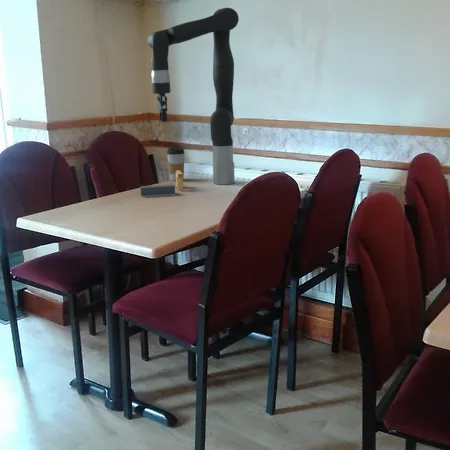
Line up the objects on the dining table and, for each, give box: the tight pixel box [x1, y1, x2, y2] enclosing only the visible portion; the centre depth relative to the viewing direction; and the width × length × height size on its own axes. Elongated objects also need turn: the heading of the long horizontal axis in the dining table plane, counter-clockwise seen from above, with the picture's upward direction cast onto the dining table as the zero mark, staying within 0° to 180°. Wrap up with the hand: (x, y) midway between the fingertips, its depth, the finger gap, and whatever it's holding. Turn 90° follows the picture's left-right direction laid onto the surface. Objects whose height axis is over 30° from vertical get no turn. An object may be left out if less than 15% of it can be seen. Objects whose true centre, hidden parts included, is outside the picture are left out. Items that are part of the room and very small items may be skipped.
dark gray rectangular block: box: [139, 184, 176, 197], centre depth 239 cm, size 14×4×3 cm, turn 100°
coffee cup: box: [166, 147, 185, 182], centre depth 270 cm, size 8×8×15 cm
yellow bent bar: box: [175, 170, 184, 191], centre depth 250 cm, size 2×10×7 cm, turn 10°
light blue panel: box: [141, 193, 177, 198], centre depth 239 cm, size 14×6×1 cm, turn 100°
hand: (163, 121), depth 243 cm, fingers open, 8 cm apart
